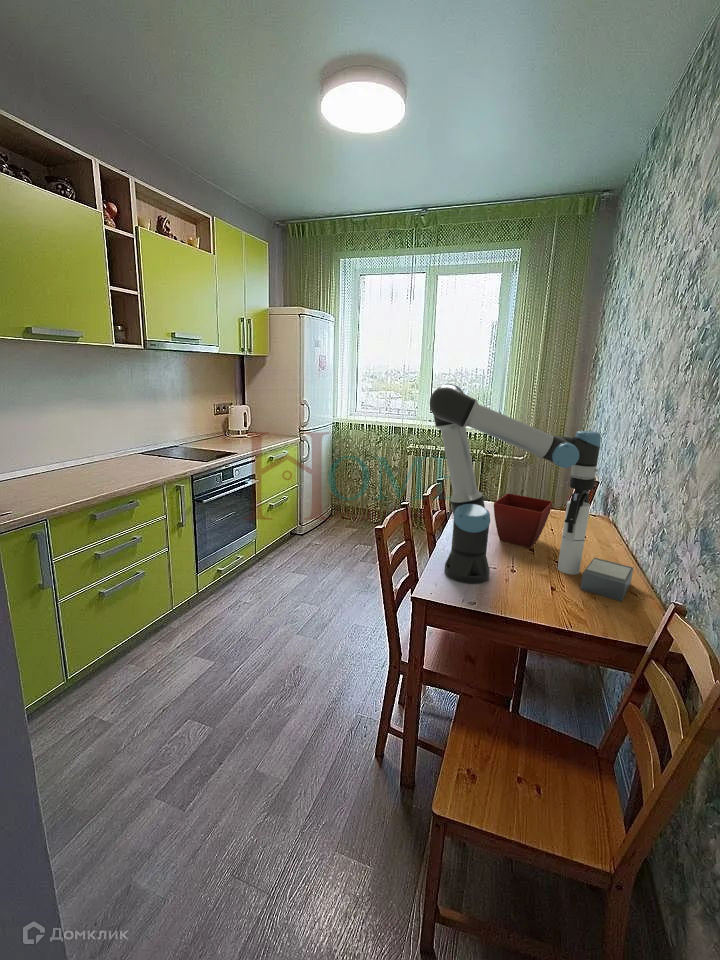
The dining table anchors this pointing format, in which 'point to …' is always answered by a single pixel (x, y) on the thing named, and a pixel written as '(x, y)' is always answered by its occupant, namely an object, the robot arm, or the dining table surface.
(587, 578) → the grey rectangular block
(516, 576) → the dining table surface
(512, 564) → the dining table surface
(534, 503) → the plant pot
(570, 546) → the cylindrical container
